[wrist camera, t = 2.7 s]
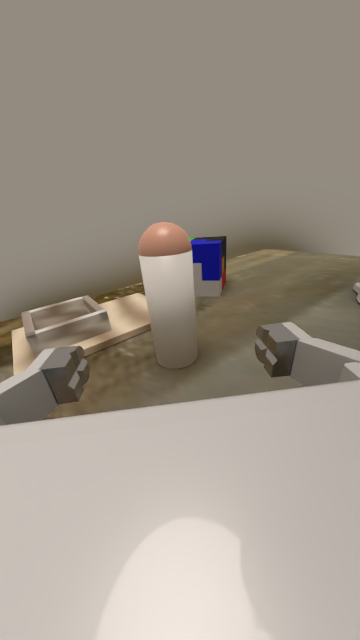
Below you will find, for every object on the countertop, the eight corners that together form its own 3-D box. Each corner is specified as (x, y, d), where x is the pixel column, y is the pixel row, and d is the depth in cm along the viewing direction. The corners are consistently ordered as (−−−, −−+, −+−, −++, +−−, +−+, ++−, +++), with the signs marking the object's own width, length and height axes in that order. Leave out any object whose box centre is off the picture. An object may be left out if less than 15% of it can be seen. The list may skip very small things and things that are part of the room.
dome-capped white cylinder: (190, 340, 28) (181, 219, 21) (204, 362, 23) (198, 219, 17) (153, 348, 27) (131, 224, 20) (160, 373, 22) (136, 225, 16)
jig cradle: (139, 297, 44) (135, 278, 43) (178, 317, 34) (176, 294, 32) (14, 336, 33) (2, 313, 31) (18, 384, 23) (0, 354, 21)
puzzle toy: (219, 297, 41) (219, 243, 36) (171, 295, 44) (165, 245, 39) (225, 281, 49) (226, 236, 45) (184, 281, 52) (181, 238, 48)
